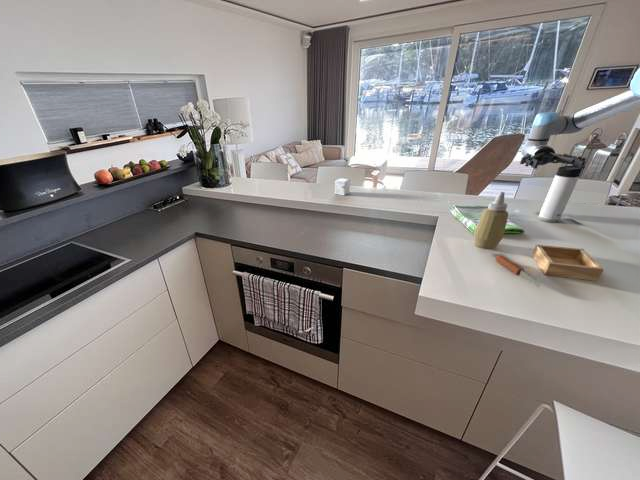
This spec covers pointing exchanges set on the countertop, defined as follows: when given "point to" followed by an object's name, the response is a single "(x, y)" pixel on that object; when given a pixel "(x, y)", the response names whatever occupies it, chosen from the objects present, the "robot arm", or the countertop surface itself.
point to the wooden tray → (566, 262)
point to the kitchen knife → (515, 269)
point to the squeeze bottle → (492, 224)
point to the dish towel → (478, 218)
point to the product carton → (342, 186)
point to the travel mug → (560, 193)
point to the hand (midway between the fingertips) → (559, 165)
